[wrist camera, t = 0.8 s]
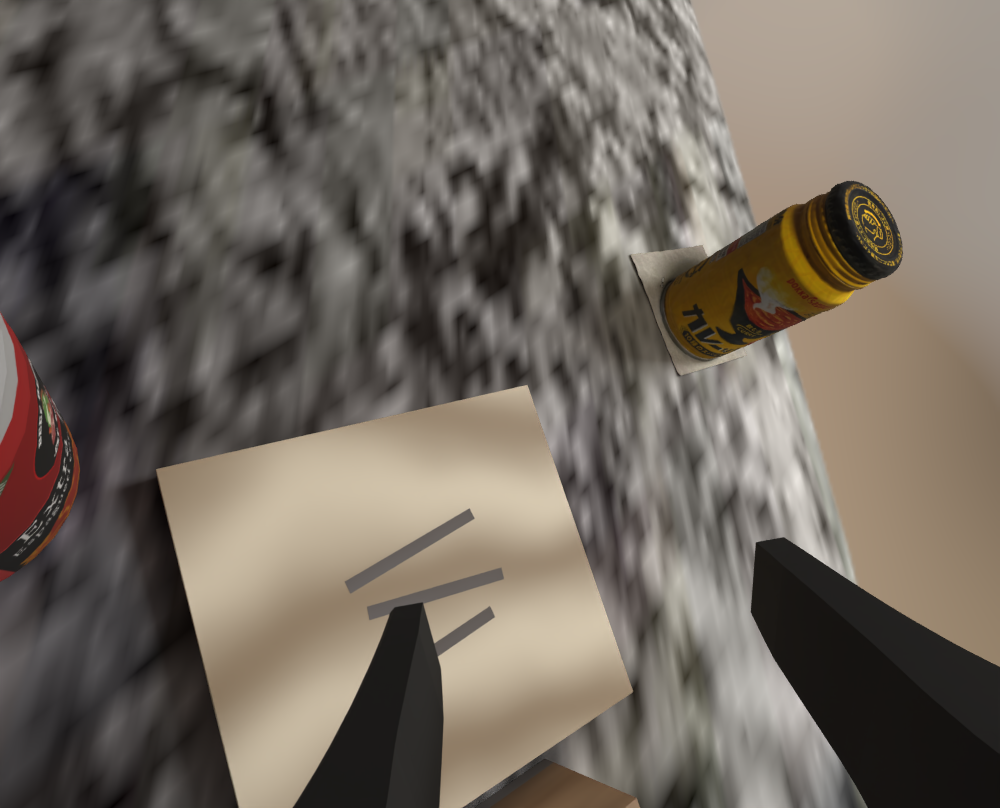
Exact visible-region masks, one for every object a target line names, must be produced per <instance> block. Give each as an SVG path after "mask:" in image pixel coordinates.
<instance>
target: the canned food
mask: <svg viewBox="0 0 1000 808" xmlns="http://www.w3.org/2000/svg"><path fill="white" fill-rule="evenodd" d="M79 473H80V468H79V461H78V453H77V448H76V445H75V443H74V440H73V438H72V436H71V433H70V431H69V428H68V427H67V425H66V423H65V421H64V420H63V418H62V416H61V414H60V413H59V411H58V409H57V407H56V405H55V404H54V402H53V400H52V398H51V397H50V395H49V393H48V391H47V390H46V388H45V386H44V384H43V383H42V381H41V379H40V377H39V376H38V374H37V372H36V370H35V369H34V367H33V365H32V363H31V362H30V360H29V358H28V356H27V355H26V353H25V351H24V349H23V348H22V346H21V344H20V342H19V340H18V339H17V337H16V335H15V333H14V332H13V330H12V329H11V328H10V326H9V325H8V323H7V322H6V321H5V319H4V317H3V316H2V314H1V312H0V581H2V580H4V579H6V578H8V577H9V576H11V575H12V574H13V573H15V572H16V571H18V570H19V569H20V568H22V567H23V566H24V565H26V564H27V563H28V562H30V561H31V560H32V559H34V558H35V557H36V556H37V555H38V554H39V553H40V552H41V550H42V549H43V548H44V547H45V546H46V545H47V544H48V543H49V542H50V541H51V540H52V539H53V538H54V537H55V535H56V534H57V532H58V531H59V529H60V528H61V526H62V525H63V523H64V521H65V520H66V518H67V517H68V515H69V513H70V510H71V507H72V505H73V502H74V499H75V497H76V494H77V489H78V481H79Z"/></svg>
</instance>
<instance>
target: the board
mask: <svg viewBox="0 0 1000 808" xmlns="http://www.w3.org/2000/svg"><path fill="white" fill-rule="evenodd" d="M156 473H157V480H158V484H159V488H160V492H161V496H162V500H163V504H164V508H165V512H166V516H167V520H168V524H169V528H170V532H171V537H172V541H173V545H174V549H175V553H176V557H177V561H178V565H179V569H180V573H181V577H182V581H183V585H184V589H185V594H186V598H187V602H188V606H189V610H190V614H191V618H192V622H193V626H194V630H195V634H196V638H197V642H198V647H199V651H200V655H201V659H202V663H203V667H204V671H205V675H206V679H207V683H208V687H209V691H210V695H211V699H212V704H213V708H214V712H215V716H216V720H217V724H218V728H219V732H220V736H221V740H222V744H223V748H224V752H225V756H226V761H227V765H228V769H229V773H230V777H231V781H232V785H233V789H234V793H235V797H236V801H237V805H238V808H293V806H294V805H295V803H296V802H297V800H298V798H299V797H300V795H301V794H302V792H303V790H304V789H305V787H306V786H307V784H308V782H309V781H310V779H311V777H312V776H313V774H314V772H315V771H316V769H317V767H318V766H319V764H320V762H321V760H322V759H323V757H324V755H325V753H326V752H327V750H328V748H329V746H330V744H331V742H332V741H333V739H334V737H335V735H336V733H337V731H338V729H339V727H340V725H341V723H342V722H343V720H344V718H345V716H346V714H347V712H348V710H349V708H350V706H351V704H352V702H353V700H354V698H355V696H356V694H357V691H358V689H359V687H360V685H361V683H362V681H363V678H364V676H365V674H366V672H367V670H368V668H369V665H370V663H371V661H372V658H373V656H374V654H375V651H376V649H377V646H378V644H379V641H380V639H381V636H382V634H383V631H384V628H385V626H386V623H387V620H388V617H389V614H390V612H391V611H392V610H393V608H394V607H398V606H404V605H410V604H415V603H421V602H423V604H424V608H425V612H426V615H427V619H428V623H429V626H430V630H431V634H432V637H433V641H434V644H435V648H436V652H437V655H438V659H439V663H440V666H441V675H442V693H443V713H444V725H443V747H442V767H441V786H440V806H439V808H462V807H464V806H465V805H467V804H468V803H470V802H471V801H473V800H474V799H476V798H477V797H479V796H480V795H481V794H483V793H484V792H486V791H487V790H489V789H490V788H492V787H493V786H495V785H496V784H498V783H499V782H501V781H502V780H504V779H505V778H507V777H508V776H510V775H511V774H512V773H514V772H515V771H517V770H518V769H520V768H521V767H523V766H524V765H526V764H527V763H529V762H530V761H532V760H533V759H535V758H536V757H538V756H539V755H541V754H542V753H544V752H545V751H546V750H548V749H549V748H551V747H552V746H554V745H555V744H557V743H558V742H560V741H561V740H563V739H564V738H566V737H567V736H569V735H570V734H572V733H573V732H575V731H576V730H577V729H579V728H580V727H582V726H583V725H585V724H586V723H588V722H589V721H591V720H592V719H594V718H595V717H597V716H598V715H600V714H601V713H603V712H604V711H606V710H607V709H608V708H610V707H611V706H613V705H614V704H616V703H617V702H619V701H620V700H622V699H623V698H625V697H626V696H628V695H629V694H631V693H632V692H633V690H632V687H631V684H630V681H629V679H628V676H627V673H626V670H625V667H624V664H623V661H622V658H621V655H620V652H619V650H618V647H617V644H616V641H615V638H614V635H613V632H612V629H611V626H610V623H609V621H608V618H607V615H606V612H605V609H604V606H603V603H602V600H601V597H600V594H599V592H598V589H597V586H596V583H595V580H594V577H593V574H592V571H591V568H590V566H589V563H588V560H587V557H586V554H585V551H584V548H583V545H582V542H581V539H580V537H579V534H578V531H577V528H576V525H575V522H574V519H573V516H572V513H571V510H570V508H569V505H568V502H567V499H566V496H565V493H564V490H563V487H562V484H561V481H560V479H559V476H558V473H557V470H556V467H555V464H554V461H553V458H552V455H551V452H550V450H549V447H548V444H547V441H546V438H545V435H544V432H543V429H542V426H541V423H540V421H539V418H538V415H537V412H536V409H535V406H534V403H533V400H532V397H531V394H530V392H529V389H528V386H527V385H526V386H521V387H517V388H512V389H508V390H504V391H499V392H495V393H490V394H486V395H482V396H477V397H473V398H468V399H464V400H460V401H455V402H451V403H446V404H442V405H438V406H433V407H429V408H424V409H420V410H415V411H411V412H407V413H402V414H398V415H393V416H389V417H385V418H380V419H376V420H371V421H367V422H363V423H358V424H354V425H349V426H345V427H341V428H336V429H332V430H327V431H323V432H318V433H314V434H310V435H305V436H301V437H296V438H292V439H288V440H283V441H279V442H274V443H270V444H266V445H261V446H257V447H252V448H248V449H244V450H239V451H235V452H230V453H226V454H221V455H217V456H213V457H208V458H204V459H199V460H195V461H191V462H186V463H182V464H177V465H173V466H169V467H164V468H160V469H156Z"/></svg>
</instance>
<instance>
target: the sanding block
mask: <svg viewBox="0 0 1000 808" xmlns="http://www.w3.org/2000/svg"><path fill="white" fill-rule="evenodd" d="M475 808H640V807H639V804H638V801H637V798H635V797H633V796H631V795H628V794H626V793H624V792H621V791H619V790H617V789H614V788H612V787H610V786H607V785H605V784H603V783H600V782H598V781H596V780H593V779H591V778H589V777H586V776H584V775H582V774H579V773H577V772H575V771H572V770H570V769H568V768H565V767H563V766H561V765H558V764H556V763H554V762H551V761H549V760H547V759H544V760H542V761H541V762H539V763H538V764H536V765H535V766H533V767H532V768H531V769H529V770H528V771H526V772H525V773H523V774H522V775H521V776H519V777H518V778H516V779H515V780H513V781H512V782H511V783H509V784H508V785H506V786H505V787H503V788H502V789H500V790H499V791H498V792H496V793H495V794H493V795H492V796H490V797H489V798H488V799H486V800H485V801H483V802H482V803H480V804H479V805H477V806H476V807H475Z"/></svg>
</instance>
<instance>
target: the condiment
mask: <svg viewBox="0 0 1000 808" xmlns="http://www.w3.org/2000/svg"><path fill="white" fill-rule="evenodd" d="M902 254H903V251H902V241H901V237H900V232H899V231H898V228H897V225H896V222H895V220H894V218H893V216H892V214H891V212H890V211H889V209H888V207H887V206H886V205H885V204H884V202H883V201H882V200H881V198H879V196H878V195H877V194H875V193H874V192H873V191H872V190H871V189H870V188H869V187H868V186H864V185H863V184H862V183H859V182H855V181H846V182H843V183H841V184H837V185H835V186H834V187H833V188H832V189H831V191H830V192H828V193H826V194H822V195H819V196H816V197H815V198H813V199H811V200H810V201H808V202H807V203H806V204H796V205H792V206H790V207H788V208H786V209H785V210H783V211H781V212H780V213H778V214H776V215H775V216H773V217H772V218H770V219H768V220H767V221H765V222H763V223H761V224H760V225H758V226H757V227H756V228H754V229H753V230H751V231H750V232H748V233H746V234H745V235H743V236H741V237H740V238H739V239H737V240H735V241H734V242H732V243H731V244H729V245H727V246H725V247H724V248H723V249H721V250H719V251H717V252H715V253H714V254H713V255H712V256H710V257H708V256H707V255H706V253H705V250H704V248H703V246H702V245H700V246H695V247H689V248H681V249H676V250H667V251H661V252H649V253H639V254H631V256H632V259H633V262H634V263H635V265H636V268H637V271H638V274H639V277H640V278H641V280H642V282H643V285H644V288H645V291H646V294H647V295H648V297H649V301H650V304H651V306H652V309H653V312H654V315H655V318H656V321H657V324H658V326H659V328H660V331H661V333H662V336H663V339H664V341H665V343H666V346H667V349H668V351H669V353H670V355H671V357H672V361H673V363H674V366H675V367H676V370H677V372H678V373H679V374H680V376H681V375H685V374H688V373H691V372H695V371H698V370H701V369H705V368H708V367H711V366H714V365H718V364H721V363H724V362H727V361H730V360H733V359H737V358H740V357H743V356H747V354H746V351H745V349H744V347H745V346H747V345H750V344H752V343H754V342H756V341H758V340H761V339H763V338H766V337H768V336H770V335H772V334H774V333H776V332H779V331H781V330H783V329H786V328H788V327H790V326H793V325H795V324H797V323H800V322H802V321H805V320H806V319H808V318H810V317H812V316H815V315H817V314H820V313H821V312H825V311H828V310H830V309H833V308H835V307H836V306H839V305H841V304H843V303H844V302H845V301H846V300H847V299H848V298H849V297H850V296H851V294H852V293H853V292H854V290H858V289H862V288H864V287H866V286H868V284H870V283H871V282H874V281H875V280H879V279H881V278H885V277H887V276H888V275H891V274H892V273H893V272H894V271H895V270H896V269H897V268H898V267H899V265H900V263H901V261H902ZM662 278H664V282H662ZM662 283H663V287H661V284H662Z"/></svg>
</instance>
